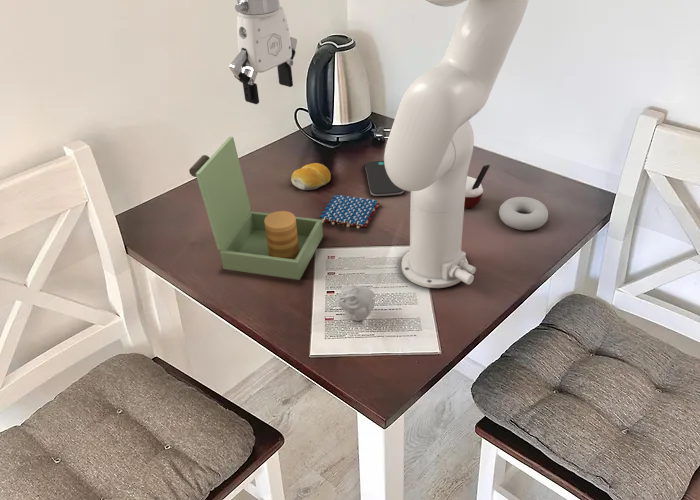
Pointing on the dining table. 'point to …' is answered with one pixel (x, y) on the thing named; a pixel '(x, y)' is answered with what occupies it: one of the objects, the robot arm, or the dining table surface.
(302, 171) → the bread roll
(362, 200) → the woven mat
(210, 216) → the box lid
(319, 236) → the box
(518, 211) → the donut
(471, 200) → the cocoa
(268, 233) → the cookies
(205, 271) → the dining table surface
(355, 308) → the frog figurine
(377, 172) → the smartphone
